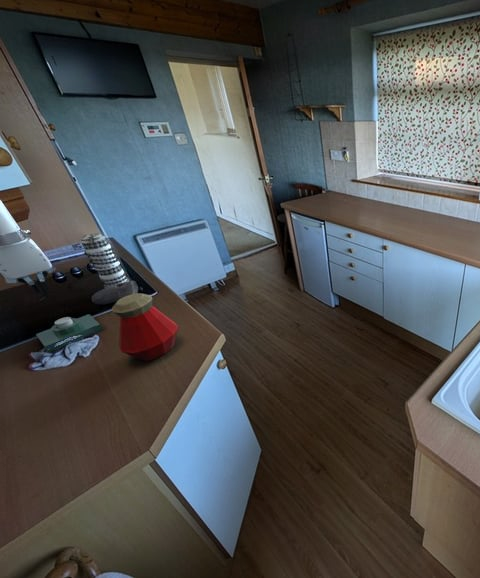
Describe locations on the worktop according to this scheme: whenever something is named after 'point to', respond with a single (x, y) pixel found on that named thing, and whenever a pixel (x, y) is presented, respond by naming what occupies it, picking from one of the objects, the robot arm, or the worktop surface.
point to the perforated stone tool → (115, 293)
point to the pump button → (63, 322)
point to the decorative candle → (103, 259)
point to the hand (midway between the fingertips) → (44, 292)
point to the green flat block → (69, 332)
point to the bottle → (143, 328)
